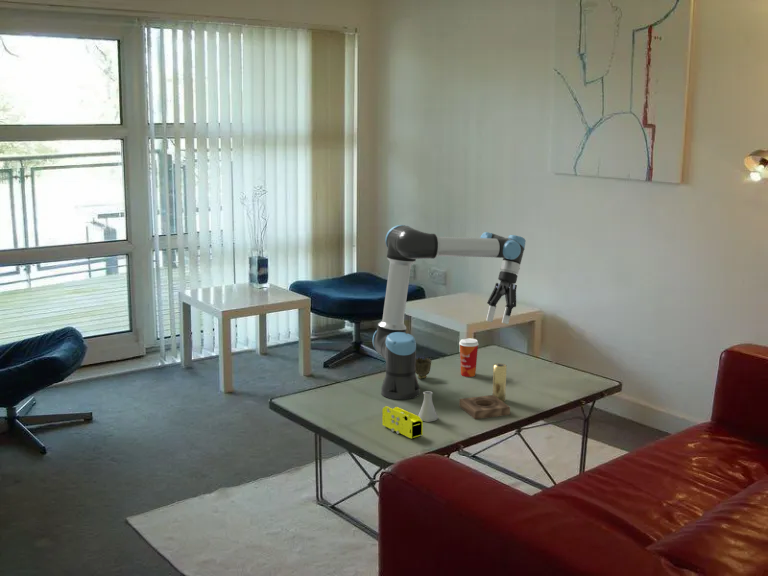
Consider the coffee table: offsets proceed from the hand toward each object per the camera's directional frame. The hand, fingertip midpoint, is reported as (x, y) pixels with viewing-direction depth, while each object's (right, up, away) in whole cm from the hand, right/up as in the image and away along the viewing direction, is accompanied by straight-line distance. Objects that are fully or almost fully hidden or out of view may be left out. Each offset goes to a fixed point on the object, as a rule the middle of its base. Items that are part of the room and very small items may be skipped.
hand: (496, 322), depth 349 cm
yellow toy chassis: (-40, -36, -55) cm, 77 cm away
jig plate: (-9, -31, -34) cm, 47 cm away
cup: (-31, -24, +3) cm, 39 cm away
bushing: (-2, -29, -23) cm, 37 cm away
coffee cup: (-11, -23, +8) cm, 26 cm away
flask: (-31, -33, -42) cm, 62 cm away
